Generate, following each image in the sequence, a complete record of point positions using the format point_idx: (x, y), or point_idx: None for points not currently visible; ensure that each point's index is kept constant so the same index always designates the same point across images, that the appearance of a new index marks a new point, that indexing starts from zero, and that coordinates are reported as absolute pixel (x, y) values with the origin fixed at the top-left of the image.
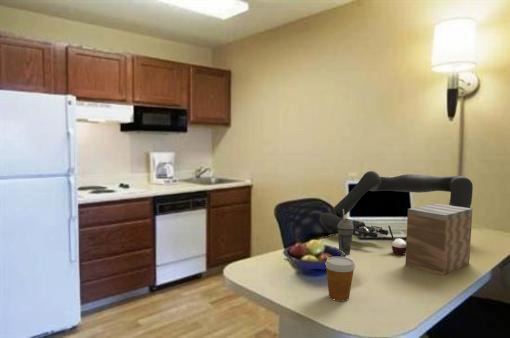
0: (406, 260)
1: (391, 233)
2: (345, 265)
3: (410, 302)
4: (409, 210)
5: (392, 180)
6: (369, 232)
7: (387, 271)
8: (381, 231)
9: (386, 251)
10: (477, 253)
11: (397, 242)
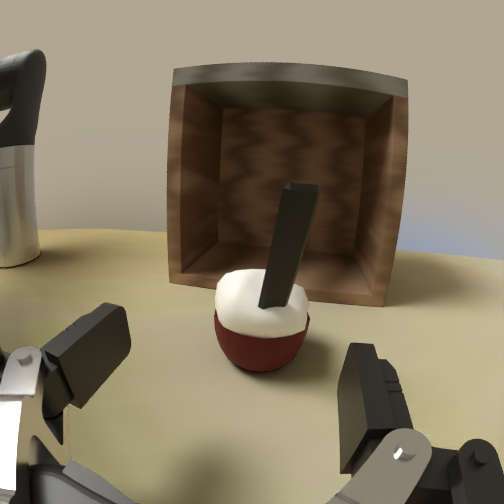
0: (386, 288)
1: (298, 251)
2: None
3: (492, 267)
4: (405, 86)
5: None
6: (392, 439)
7: (474, 311)
8: (79, 372)
9: (274, 410)
10: (107, 242)
11: (293, 289)
